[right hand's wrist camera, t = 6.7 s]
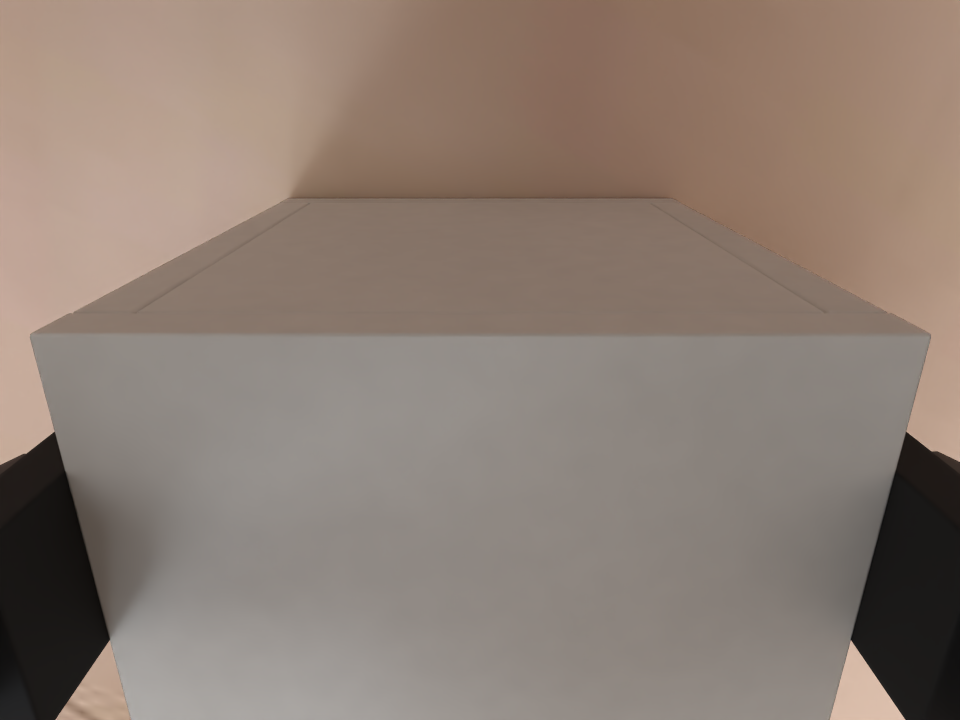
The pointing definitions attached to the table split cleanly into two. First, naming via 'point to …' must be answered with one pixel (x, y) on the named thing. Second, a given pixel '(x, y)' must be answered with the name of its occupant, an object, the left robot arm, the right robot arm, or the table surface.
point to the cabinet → (480, 465)
